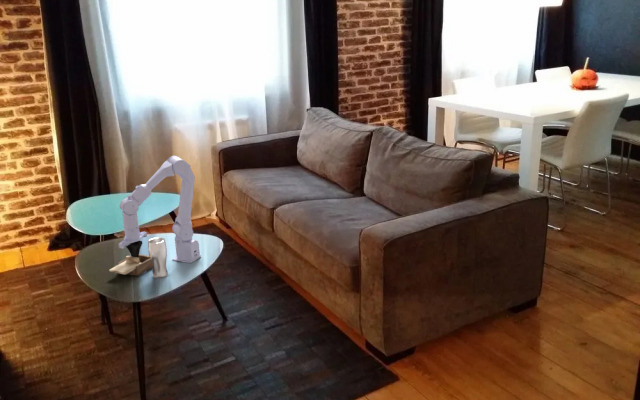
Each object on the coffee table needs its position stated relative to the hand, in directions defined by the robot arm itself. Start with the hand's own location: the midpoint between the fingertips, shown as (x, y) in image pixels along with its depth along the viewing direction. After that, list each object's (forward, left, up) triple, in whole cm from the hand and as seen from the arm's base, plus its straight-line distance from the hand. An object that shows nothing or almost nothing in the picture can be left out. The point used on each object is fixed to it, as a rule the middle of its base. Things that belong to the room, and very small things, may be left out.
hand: (135, 258), depth 248 cm
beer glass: (-13, +1, -5) cm, 14 cm away
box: (0, 0, -5) cm, 5 cm away
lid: (0, +6, -2) cm, 6 cm away
